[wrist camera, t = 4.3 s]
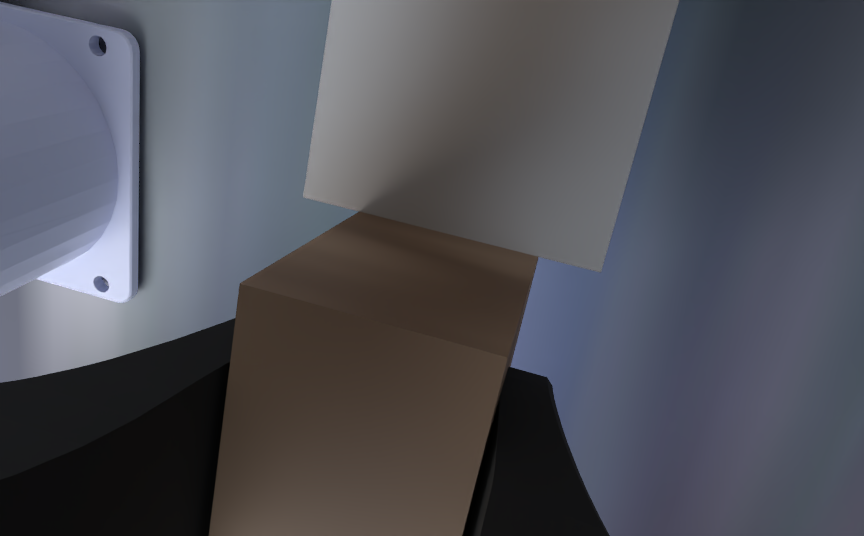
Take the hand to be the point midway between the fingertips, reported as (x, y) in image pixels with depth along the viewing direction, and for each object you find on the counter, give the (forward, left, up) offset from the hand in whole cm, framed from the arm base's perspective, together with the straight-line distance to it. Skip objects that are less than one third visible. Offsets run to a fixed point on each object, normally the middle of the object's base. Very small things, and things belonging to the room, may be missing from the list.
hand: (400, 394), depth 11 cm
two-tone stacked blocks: (0, +4, -3) cm, 5 cm away
